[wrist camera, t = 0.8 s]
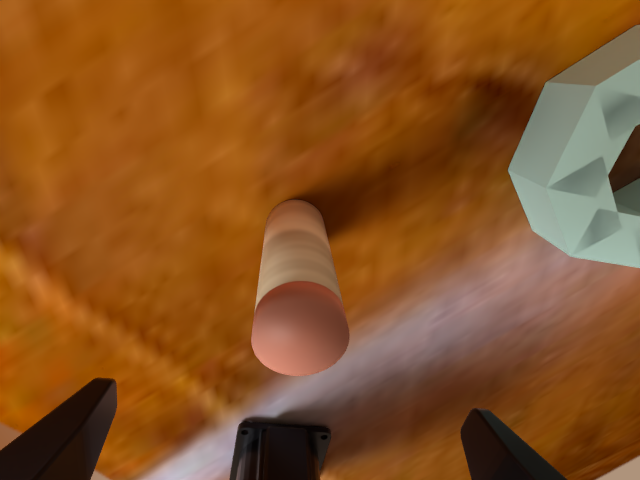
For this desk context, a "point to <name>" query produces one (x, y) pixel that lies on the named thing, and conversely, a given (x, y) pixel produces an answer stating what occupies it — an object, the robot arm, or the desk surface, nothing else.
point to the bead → (584, 156)
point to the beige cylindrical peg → (298, 295)
